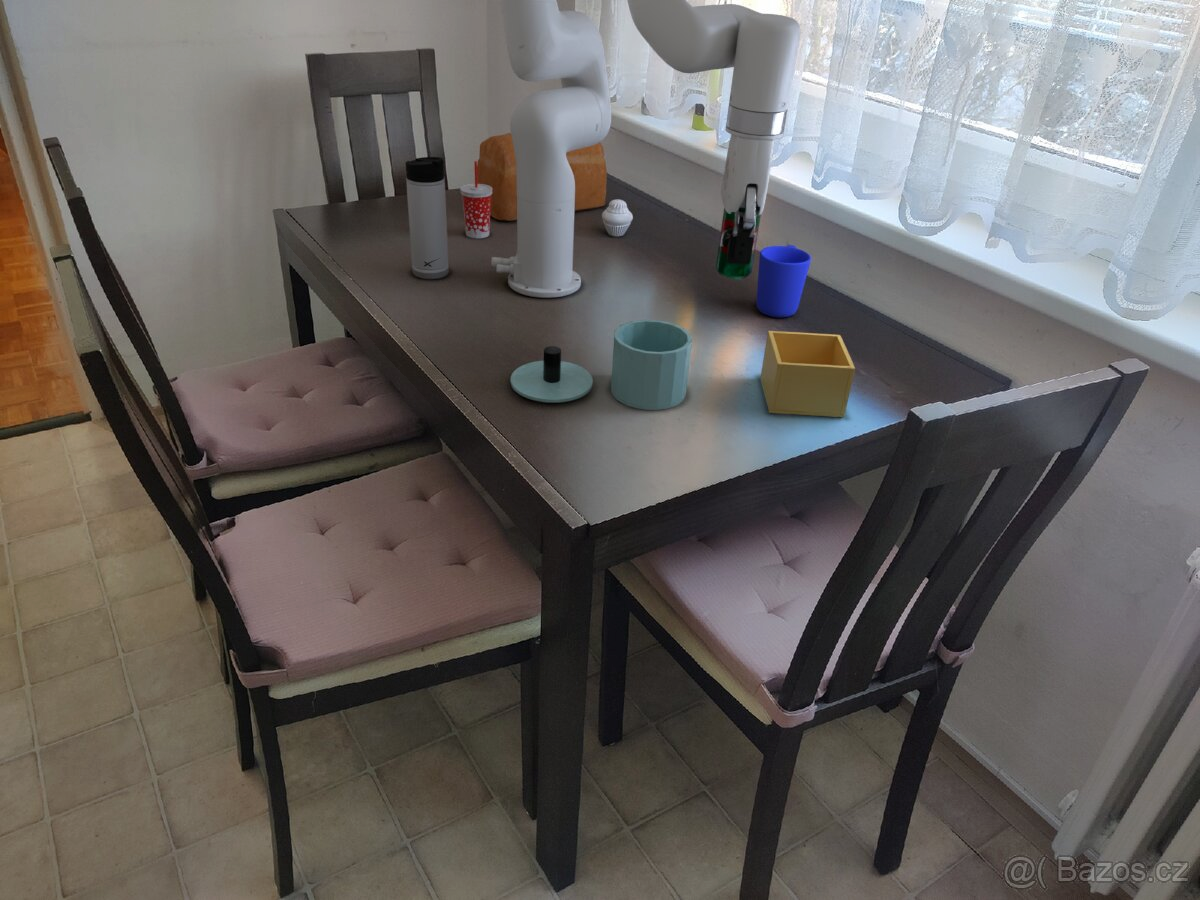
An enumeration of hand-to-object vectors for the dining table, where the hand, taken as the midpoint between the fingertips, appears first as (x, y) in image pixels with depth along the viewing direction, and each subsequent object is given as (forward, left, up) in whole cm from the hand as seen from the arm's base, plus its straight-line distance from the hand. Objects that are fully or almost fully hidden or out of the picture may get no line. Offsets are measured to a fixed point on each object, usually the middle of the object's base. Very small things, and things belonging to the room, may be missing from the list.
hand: (736, 253), depth 125 cm
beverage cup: (-44, +48, -17) cm, 67 cm away
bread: (-33, +67, -17) cm, 76 cm away
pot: (-11, -11, -17) cm, 23 cm away
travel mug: (-49, +27, -17) cm, 58 cm away
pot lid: (-25, -11, -16) cm, 31 cm away
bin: (+10, -10, -17) cm, 22 cm away
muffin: (-17, +53, -17) cm, 58 cm away
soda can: (0, 0, -3) cm, 3 cm away
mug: (+11, +21, -17) cm, 29 cm away
